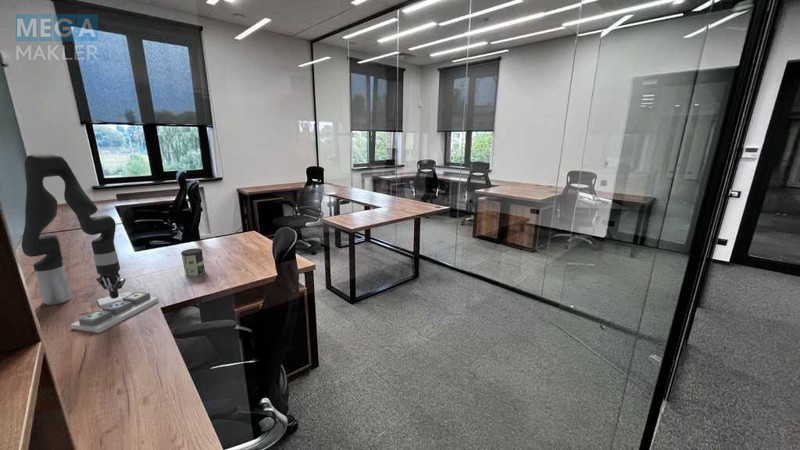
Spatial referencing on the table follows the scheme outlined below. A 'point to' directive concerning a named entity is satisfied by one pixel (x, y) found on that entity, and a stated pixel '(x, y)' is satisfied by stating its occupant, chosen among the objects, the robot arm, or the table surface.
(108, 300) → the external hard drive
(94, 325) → the button panel
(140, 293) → the button one
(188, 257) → the coffee can
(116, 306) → the button three
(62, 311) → the table surface
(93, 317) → the button two
